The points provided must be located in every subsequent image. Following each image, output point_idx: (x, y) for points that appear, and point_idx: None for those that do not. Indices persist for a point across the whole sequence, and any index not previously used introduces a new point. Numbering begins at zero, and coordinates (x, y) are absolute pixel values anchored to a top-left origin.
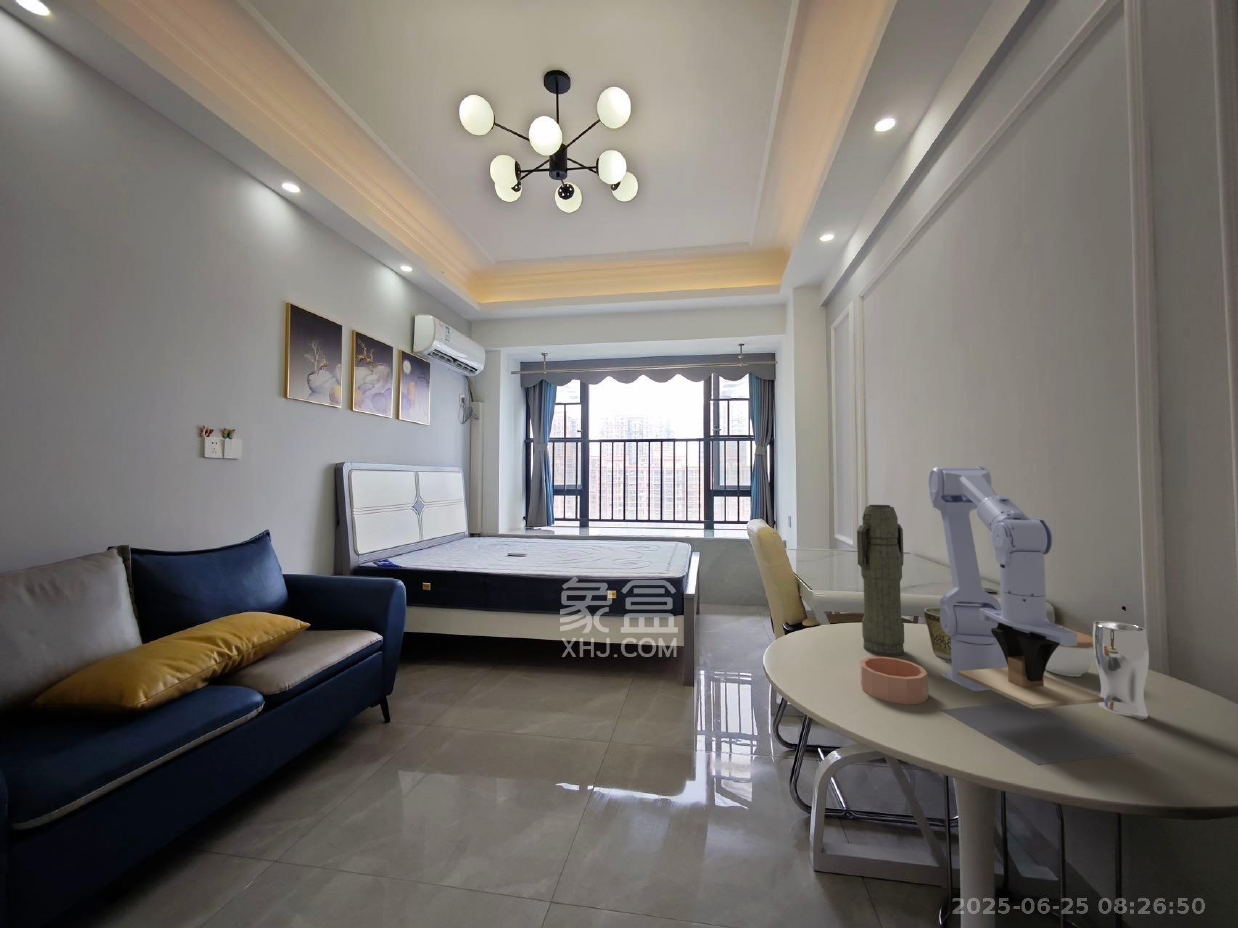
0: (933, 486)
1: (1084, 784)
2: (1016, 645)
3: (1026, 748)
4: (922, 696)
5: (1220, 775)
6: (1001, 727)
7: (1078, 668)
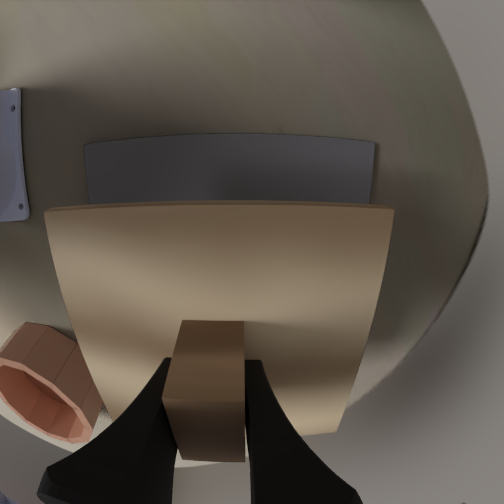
0: None
1: (389, 337)
2: (160, 474)
3: None
4: (91, 376)
5: (449, 71)
6: None
7: None
